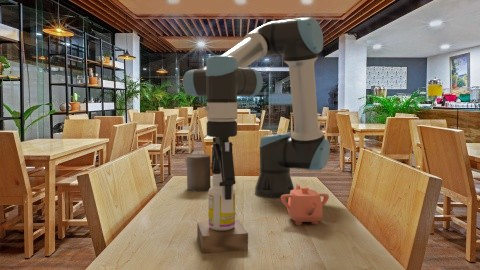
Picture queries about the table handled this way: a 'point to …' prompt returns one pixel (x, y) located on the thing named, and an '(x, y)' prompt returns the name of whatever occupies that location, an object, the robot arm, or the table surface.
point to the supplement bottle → (219, 208)
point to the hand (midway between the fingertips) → (222, 205)
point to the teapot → (304, 205)
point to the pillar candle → (198, 172)
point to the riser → (222, 238)
